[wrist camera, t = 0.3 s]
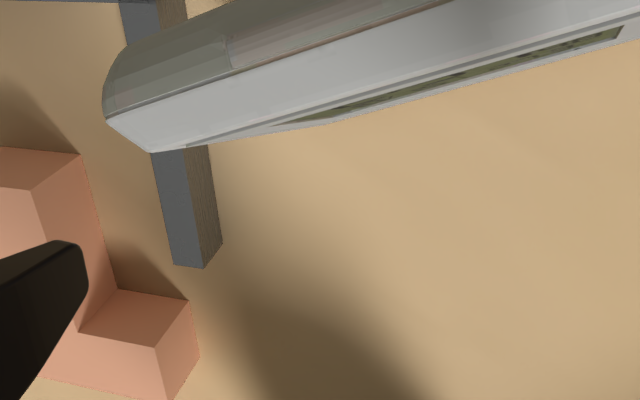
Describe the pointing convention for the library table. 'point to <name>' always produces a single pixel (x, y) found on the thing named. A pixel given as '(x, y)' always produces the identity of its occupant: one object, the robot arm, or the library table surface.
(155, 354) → the t block
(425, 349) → the library table surface
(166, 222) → the fence
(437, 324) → the library table surface
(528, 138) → the library table surface
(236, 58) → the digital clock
